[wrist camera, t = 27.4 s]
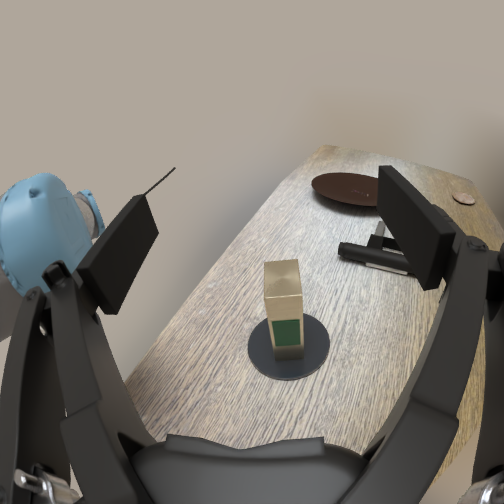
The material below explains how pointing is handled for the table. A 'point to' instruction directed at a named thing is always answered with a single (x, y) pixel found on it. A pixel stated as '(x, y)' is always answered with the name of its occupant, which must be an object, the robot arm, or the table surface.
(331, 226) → the table surface
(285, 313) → the tea tin
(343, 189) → the plate
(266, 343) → the coaster
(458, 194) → the flatbread
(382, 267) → the door handle
